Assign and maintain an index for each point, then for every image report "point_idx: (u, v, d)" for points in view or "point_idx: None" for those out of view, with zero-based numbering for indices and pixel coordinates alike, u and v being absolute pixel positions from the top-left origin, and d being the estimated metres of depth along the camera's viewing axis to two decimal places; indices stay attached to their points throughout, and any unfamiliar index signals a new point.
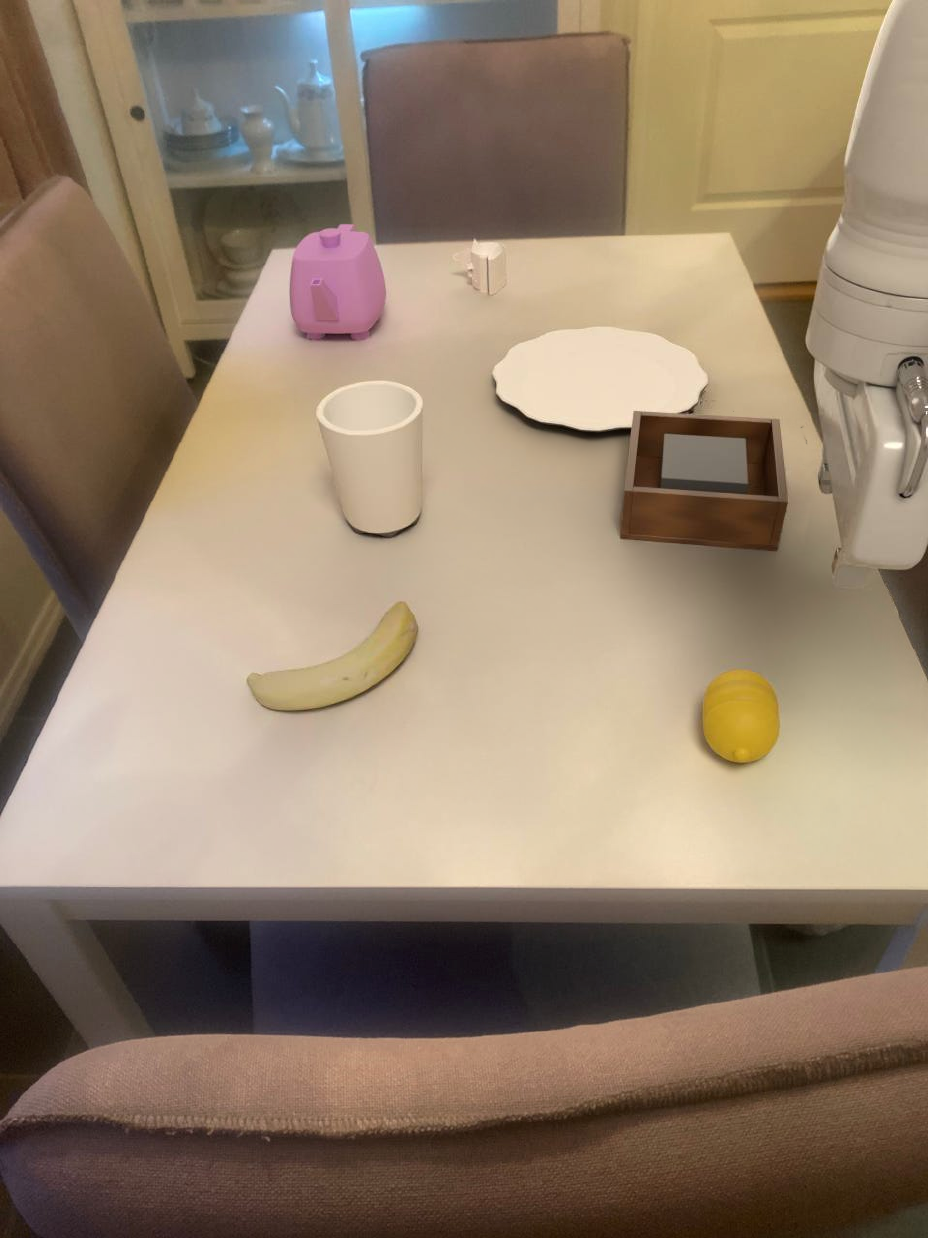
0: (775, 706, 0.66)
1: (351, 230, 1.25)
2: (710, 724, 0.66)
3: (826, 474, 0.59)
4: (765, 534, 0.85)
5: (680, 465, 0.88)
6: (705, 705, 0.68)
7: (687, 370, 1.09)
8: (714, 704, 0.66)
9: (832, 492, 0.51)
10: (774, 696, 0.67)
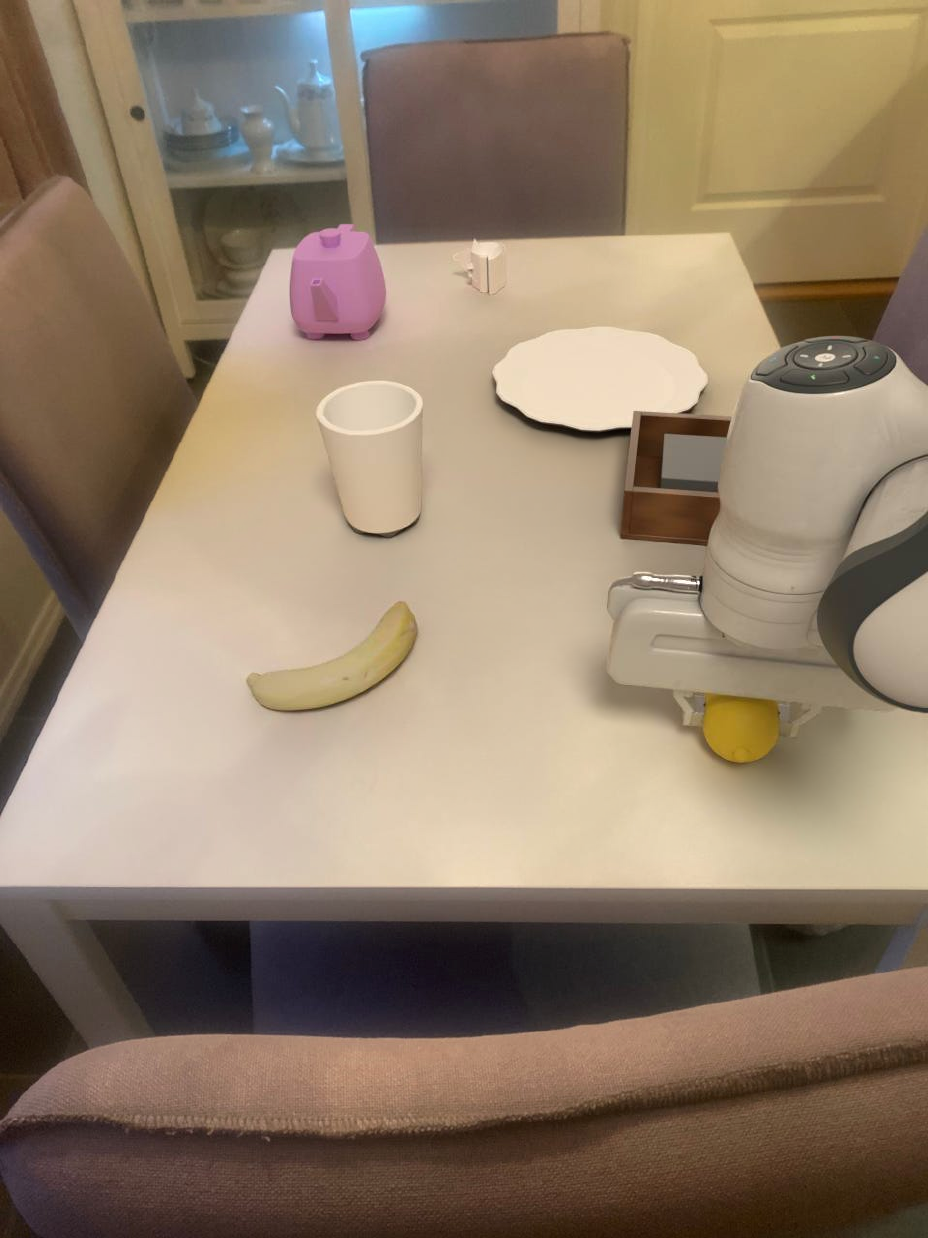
0: (775, 706, 0.66)
1: (351, 230, 1.25)
2: (709, 724, 0.66)
3: None
4: None
5: (680, 465, 0.88)
6: (705, 705, 0.68)
7: (687, 370, 1.09)
8: (714, 704, 0.66)
9: None
10: None
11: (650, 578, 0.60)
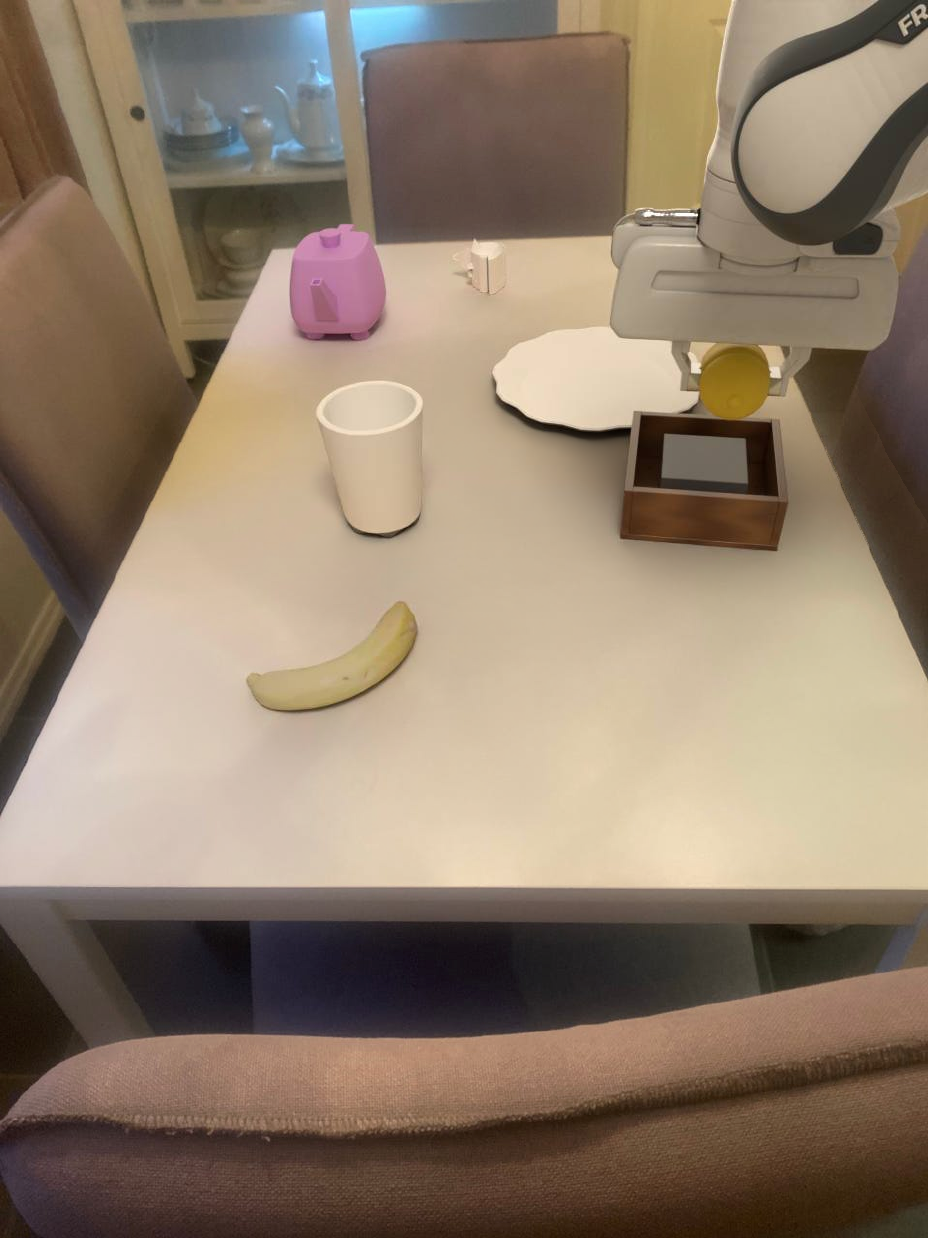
0: (766, 363, 0.71)
1: (351, 230, 1.25)
2: (705, 379, 0.70)
3: None
4: (765, 534, 0.85)
5: (680, 465, 0.88)
6: (701, 369, 0.72)
7: None
8: (709, 362, 0.71)
9: None
10: (765, 356, 0.71)
11: (651, 211, 0.65)
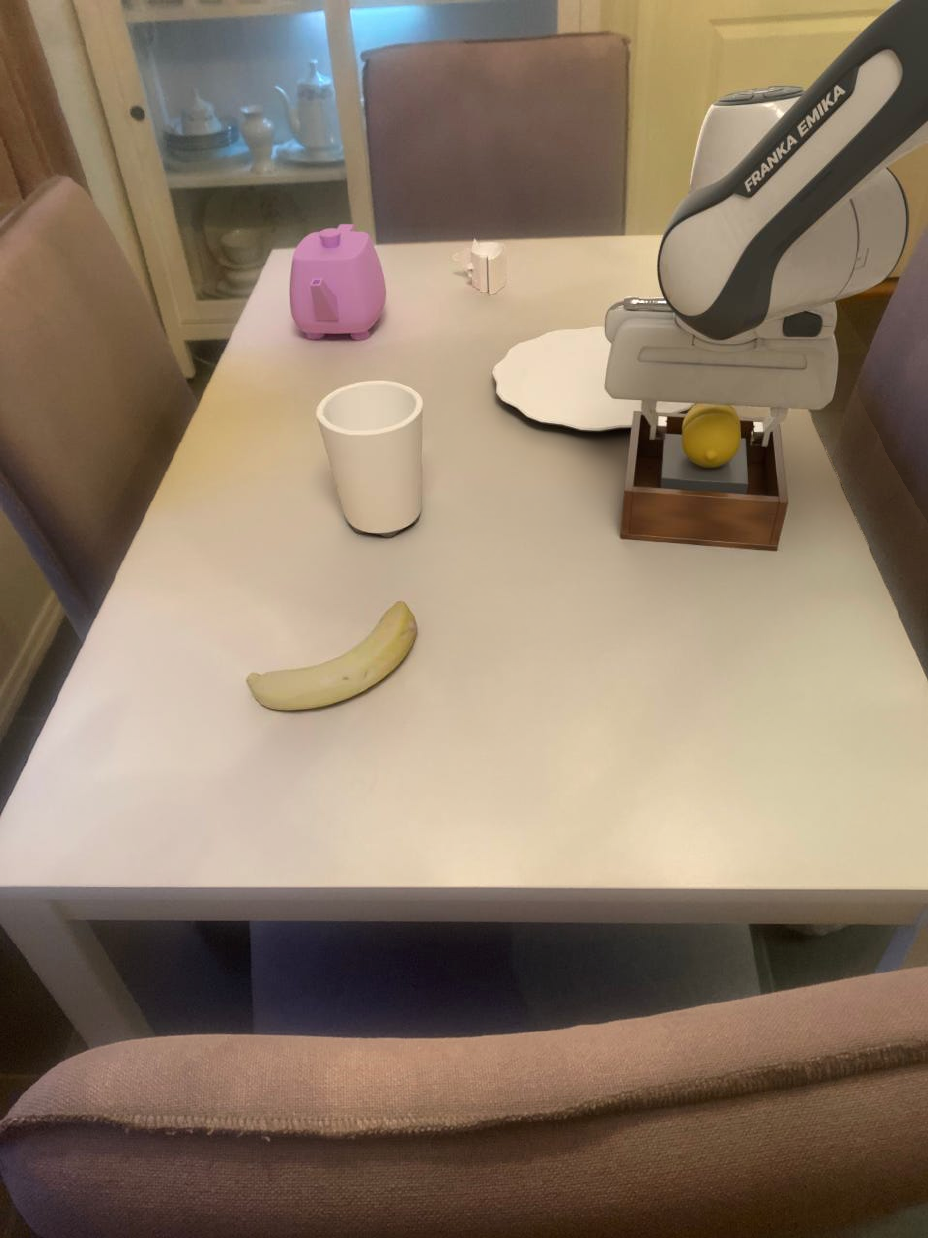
0: (739, 424, 0.86)
1: (351, 230, 1.25)
2: (688, 432, 0.85)
3: None
4: (765, 534, 0.85)
5: (680, 465, 0.88)
6: (685, 422, 0.87)
7: None
8: (693, 418, 0.85)
9: None
10: (738, 418, 0.86)
11: (637, 299, 0.79)
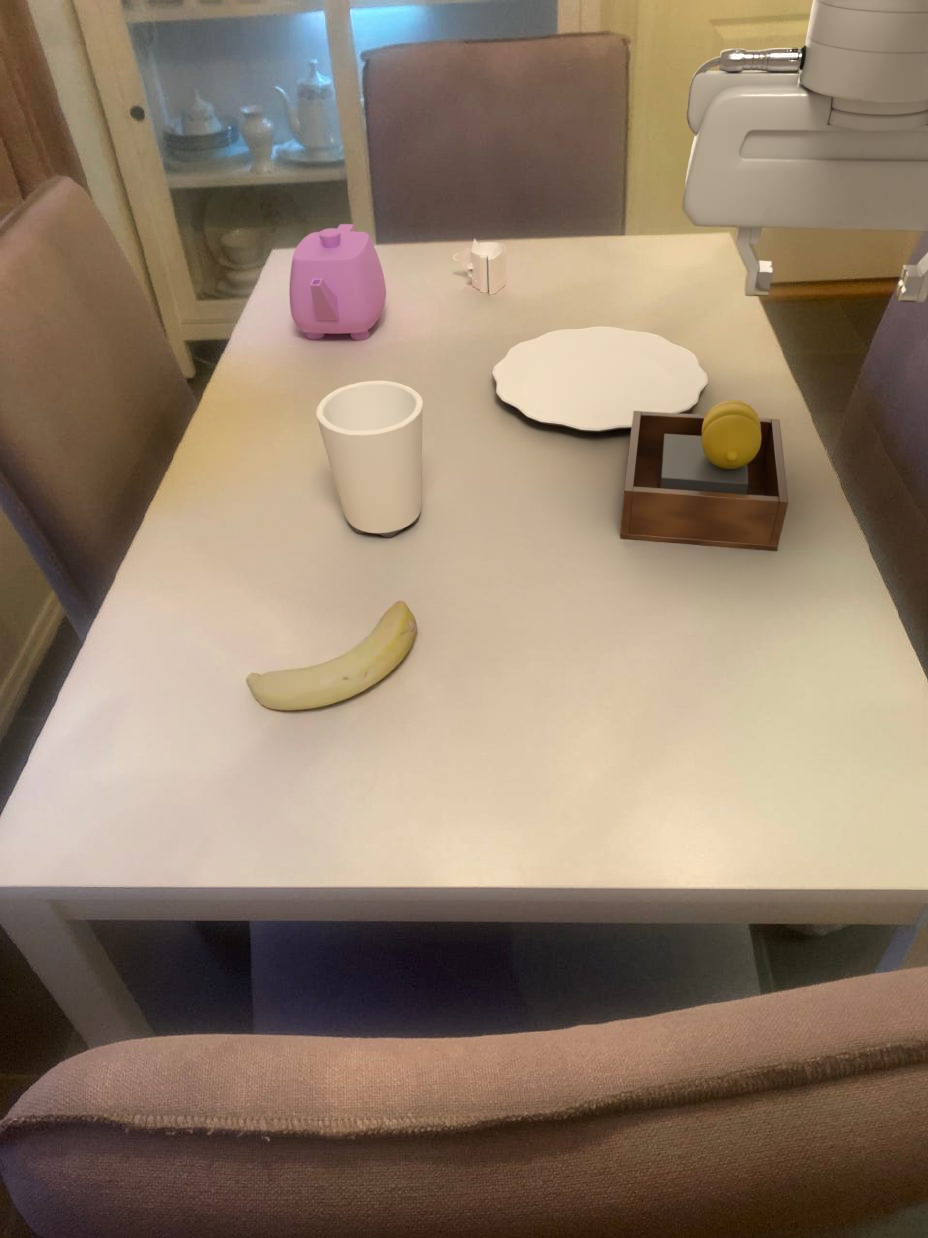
0: None
1: (351, 230, 1.25)
2: (724, 423, 0.84)
3: (902, 270, 0.58)
4: (765, 534, 0.85)
5: (680, 465, 0.88)
6: (719, 411, 0.85)
7: (687, 370, 1.09)
8: (732, 413, 0.84)
9: None
10: None
11: (742, 52, 0.51)
